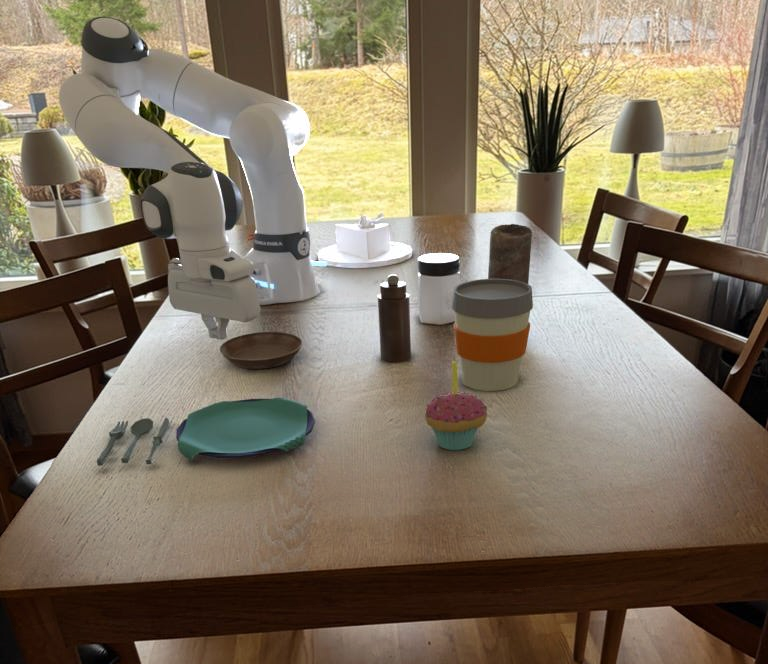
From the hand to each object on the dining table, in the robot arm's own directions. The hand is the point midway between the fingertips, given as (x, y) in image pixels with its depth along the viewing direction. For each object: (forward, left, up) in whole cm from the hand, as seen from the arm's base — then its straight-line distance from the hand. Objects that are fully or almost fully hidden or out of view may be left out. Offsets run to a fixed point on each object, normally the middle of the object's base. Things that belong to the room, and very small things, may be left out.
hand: (218, 338), depth 147 cm
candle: (+45, +29, -2) cm, 53 cm away
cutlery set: (+28, -29, -2) cm, 40 cm away
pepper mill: (+32, +12, -2) cm, 34 cm away
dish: (-19, +73, -2) cm, 76 cm away
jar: (+27, +35, -2) cm, 44 cm away
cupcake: (+59, -13, -2) cm, 60 cm away
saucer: (+11, 0, -2) cm, 11 cm away
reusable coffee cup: (+52, +10, -2) cm, 53 cm away
